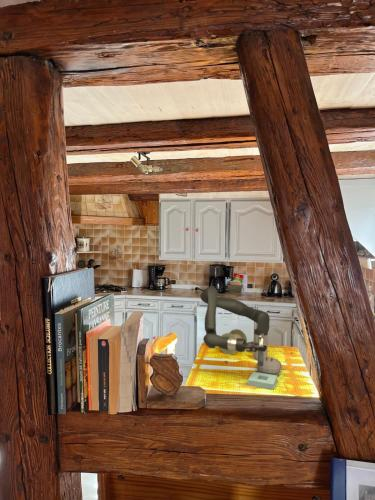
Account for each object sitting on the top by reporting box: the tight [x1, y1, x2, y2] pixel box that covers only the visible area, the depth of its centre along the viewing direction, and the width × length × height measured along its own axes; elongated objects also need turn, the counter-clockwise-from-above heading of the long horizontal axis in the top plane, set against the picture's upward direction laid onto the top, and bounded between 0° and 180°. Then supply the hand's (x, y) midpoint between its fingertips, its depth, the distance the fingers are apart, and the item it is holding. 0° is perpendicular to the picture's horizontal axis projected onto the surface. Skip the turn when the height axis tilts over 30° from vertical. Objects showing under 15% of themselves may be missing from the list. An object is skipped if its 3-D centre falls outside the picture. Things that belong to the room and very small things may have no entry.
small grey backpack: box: [256, 356, 282, 377], centre depth 208 cm, size 15×8×20 cm
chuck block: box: [247, 371, 278, 391], centre depth 191 cm, size 14×14×3 cm
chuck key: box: [257, 333, 264, 367], centre depth 192 cm, size 7×3×18 cm, turn 156°
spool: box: [219, 328, 248, 356], centre depth 249 cm, size 16×15×15 cm
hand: (266, 348), depth 191 cm, fingers closed on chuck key, 3 cm apart
